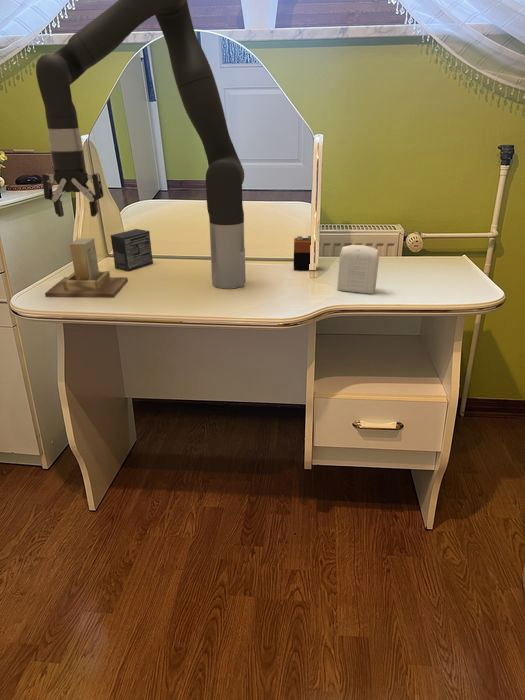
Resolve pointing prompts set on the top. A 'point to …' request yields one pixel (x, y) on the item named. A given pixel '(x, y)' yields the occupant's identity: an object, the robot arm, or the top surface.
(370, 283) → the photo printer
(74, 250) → the skincare box
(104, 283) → the cosmetics stand
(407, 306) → the top surface
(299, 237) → the battery
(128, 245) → the small box
